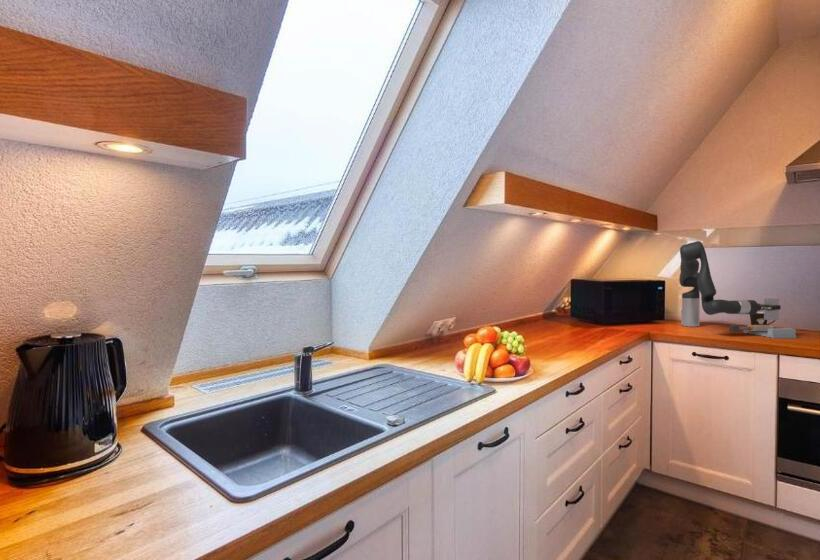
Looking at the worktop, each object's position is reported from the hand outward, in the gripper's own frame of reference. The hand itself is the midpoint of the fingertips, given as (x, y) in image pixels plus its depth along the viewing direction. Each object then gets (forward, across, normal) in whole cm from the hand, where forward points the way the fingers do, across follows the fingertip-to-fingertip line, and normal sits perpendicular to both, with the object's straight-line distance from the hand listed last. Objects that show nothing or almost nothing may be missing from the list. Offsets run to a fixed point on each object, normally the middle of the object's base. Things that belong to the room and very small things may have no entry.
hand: (776, 307), depth 240 cm
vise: (-3, +2, +15) cm, 15 cm away
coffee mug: (+8, +20, +15) cm, 26 cm away
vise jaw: (-8, +7, +14) cm, 17 cm away
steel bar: (-3, 0, +7) cm, 7 cm away
